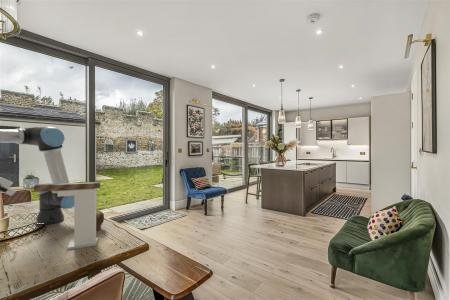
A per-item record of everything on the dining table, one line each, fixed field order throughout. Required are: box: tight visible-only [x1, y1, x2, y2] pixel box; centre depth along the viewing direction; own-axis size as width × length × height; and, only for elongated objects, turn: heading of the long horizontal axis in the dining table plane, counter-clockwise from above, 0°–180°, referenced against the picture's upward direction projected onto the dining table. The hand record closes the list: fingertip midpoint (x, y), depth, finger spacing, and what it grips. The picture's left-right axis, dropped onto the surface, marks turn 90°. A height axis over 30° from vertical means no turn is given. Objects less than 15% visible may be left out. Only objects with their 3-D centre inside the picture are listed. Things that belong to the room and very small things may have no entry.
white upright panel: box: [58, 188, 99, 250], centre depth 118 cm, size 17×8×30 cm, turn 114°
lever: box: [33, 181, 101, 193], centre depth 116 cm, size 28×3×3 cm, turn 113°
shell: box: [96, 210, 105, 232], centre depth 139 cm, size 11×11×12 cm
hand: (12, 189), depth 114 cm, fingers open, 13 cm apart
